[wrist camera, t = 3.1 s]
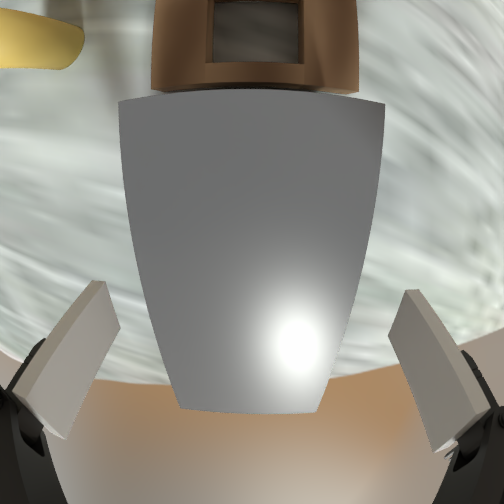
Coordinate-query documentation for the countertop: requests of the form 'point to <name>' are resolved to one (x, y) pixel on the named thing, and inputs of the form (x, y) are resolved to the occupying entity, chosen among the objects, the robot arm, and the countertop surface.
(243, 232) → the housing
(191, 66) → the socket board
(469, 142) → the countertop surface
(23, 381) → the robot arm
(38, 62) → the peg
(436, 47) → the countertop surface
